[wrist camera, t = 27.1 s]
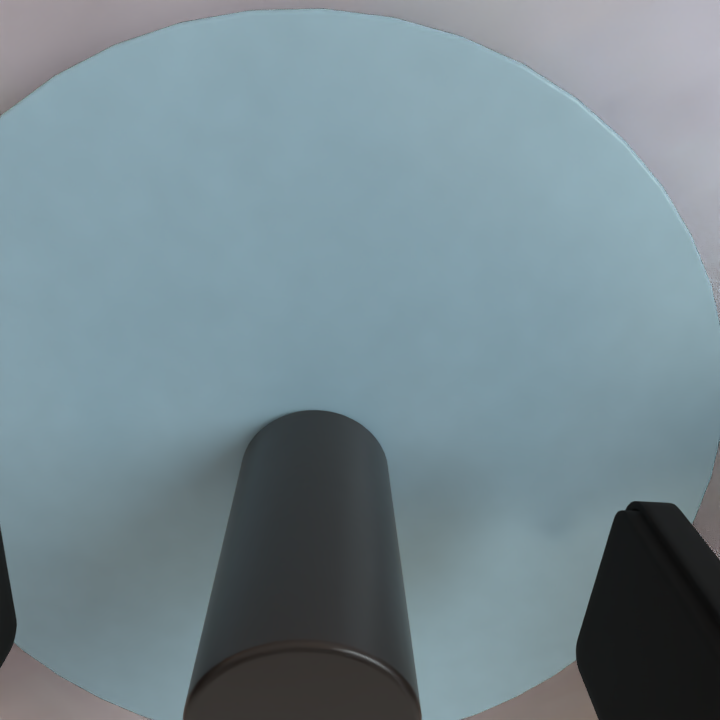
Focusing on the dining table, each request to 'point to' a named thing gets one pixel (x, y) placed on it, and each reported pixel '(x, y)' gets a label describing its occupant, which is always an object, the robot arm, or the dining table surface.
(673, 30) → the dining table surface
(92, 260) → the lid
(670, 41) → the dining table surface
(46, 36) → the dining table surface
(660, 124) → the dining table surface
